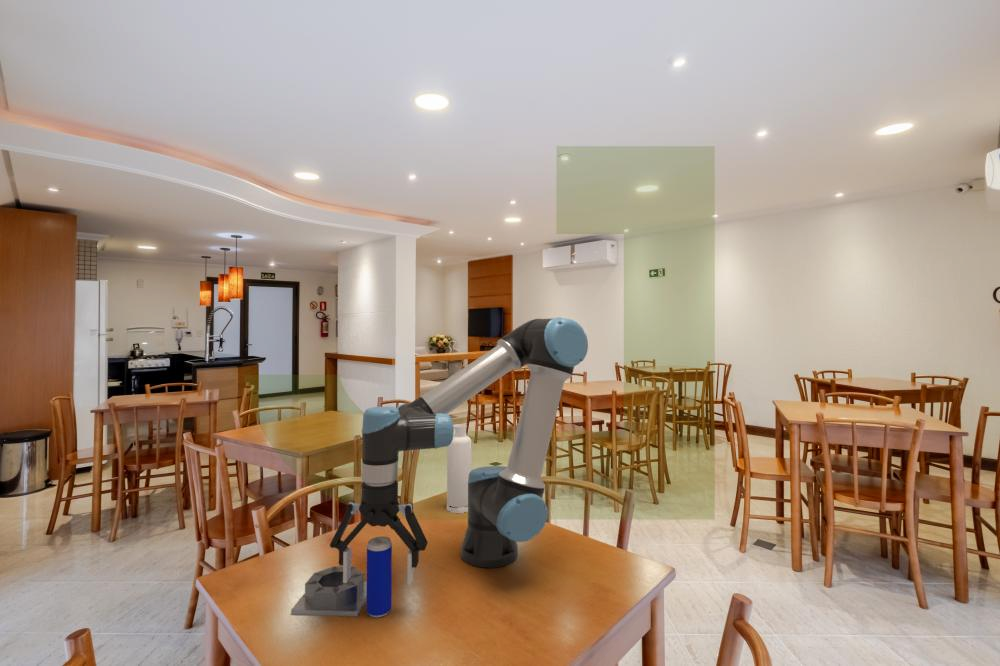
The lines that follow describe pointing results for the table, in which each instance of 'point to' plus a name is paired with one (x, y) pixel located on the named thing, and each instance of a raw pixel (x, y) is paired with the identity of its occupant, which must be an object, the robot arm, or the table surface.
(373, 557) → the beverage can
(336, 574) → the socket
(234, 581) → the table surface
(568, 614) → the table surface
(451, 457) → the bottle
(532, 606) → the table surface
